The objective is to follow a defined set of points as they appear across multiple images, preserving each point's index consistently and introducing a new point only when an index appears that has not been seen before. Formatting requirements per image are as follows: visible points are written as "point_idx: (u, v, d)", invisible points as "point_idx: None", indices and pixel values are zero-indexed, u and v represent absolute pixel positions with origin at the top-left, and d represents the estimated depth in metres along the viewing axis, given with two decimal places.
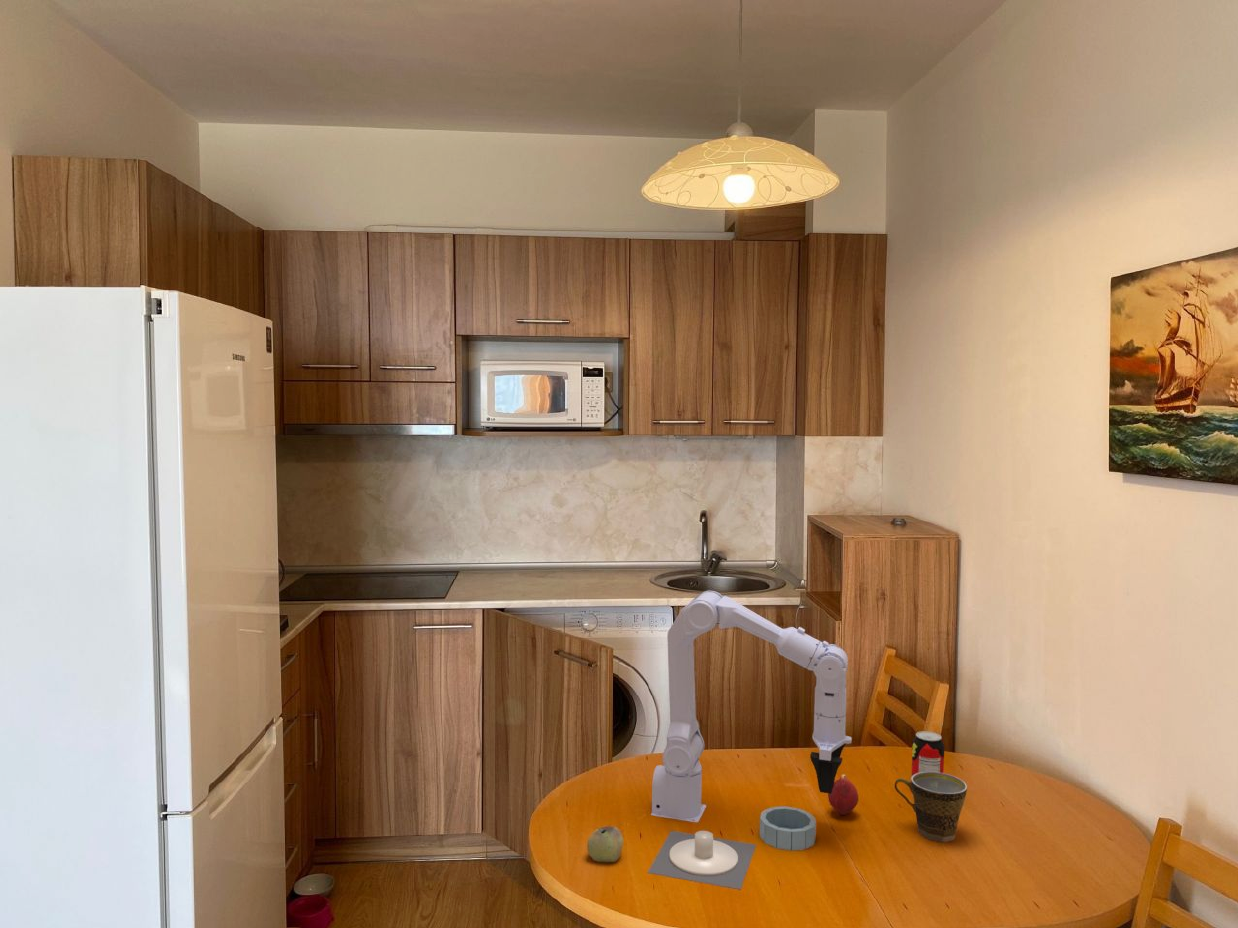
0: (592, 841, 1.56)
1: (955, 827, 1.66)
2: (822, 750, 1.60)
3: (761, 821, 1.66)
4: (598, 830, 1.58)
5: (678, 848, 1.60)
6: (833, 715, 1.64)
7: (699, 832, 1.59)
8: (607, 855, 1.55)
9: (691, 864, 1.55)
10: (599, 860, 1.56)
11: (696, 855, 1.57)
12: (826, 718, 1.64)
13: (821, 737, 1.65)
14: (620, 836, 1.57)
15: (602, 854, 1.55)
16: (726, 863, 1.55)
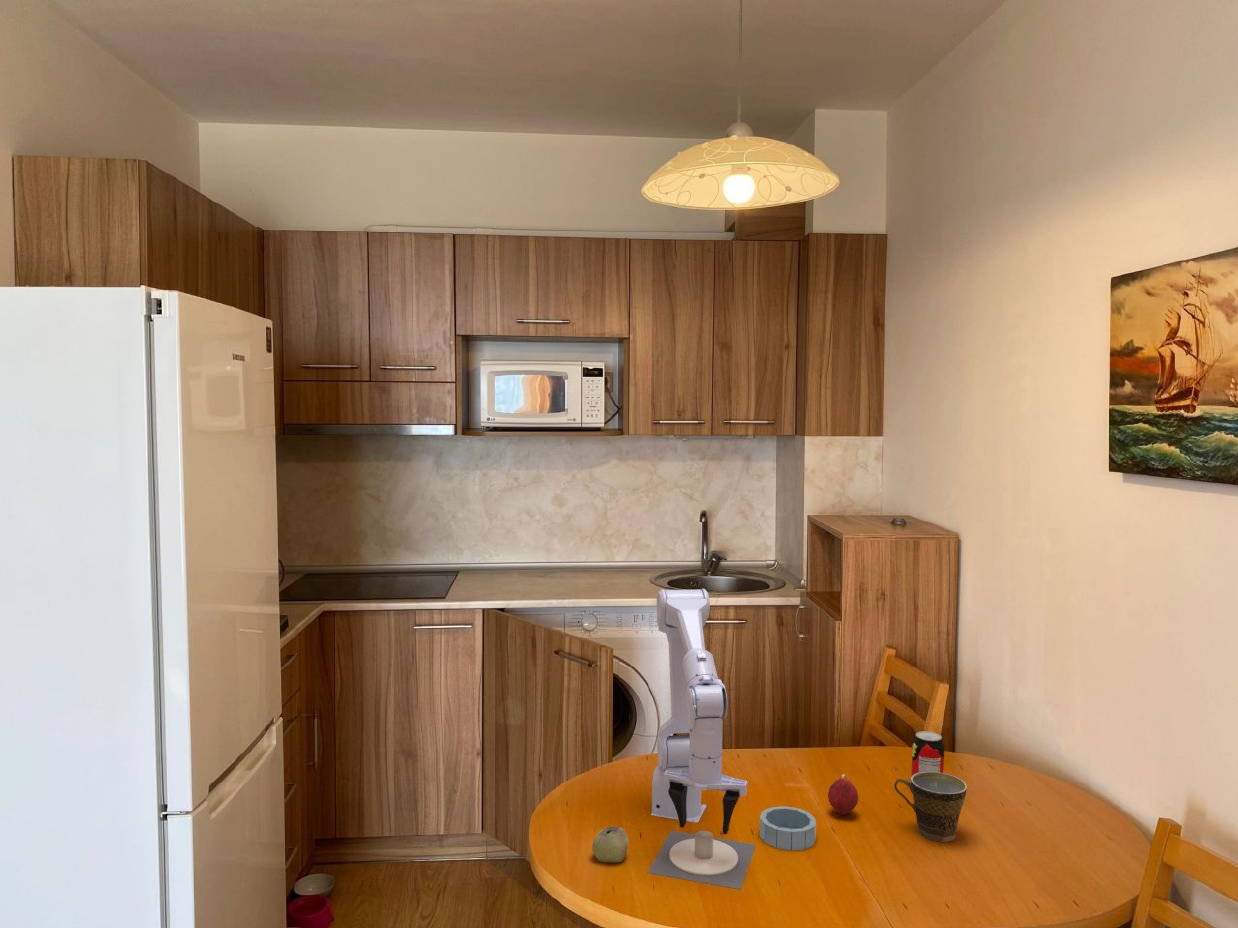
0: (597, 841, 1.56)
1: (955, 827, 1.66)
2: (665, 772, 1.60)
3: (761, 821, 1.66)
4: (603, 830, 1.58)
5: (678, 848, 1.60)
6: (691, 752, 1.56)
7: (699, 832, 1.58)
8: (612, 855, 1.55)
9: (691, 864, 1.55)
10: (604, 860, 1.56)
11: (696, 855, 1.57)
12: None
13: None
14: (625, 836, 1.57)
15: (607, 854, 1.55)
16: (726, 863, 1.55)
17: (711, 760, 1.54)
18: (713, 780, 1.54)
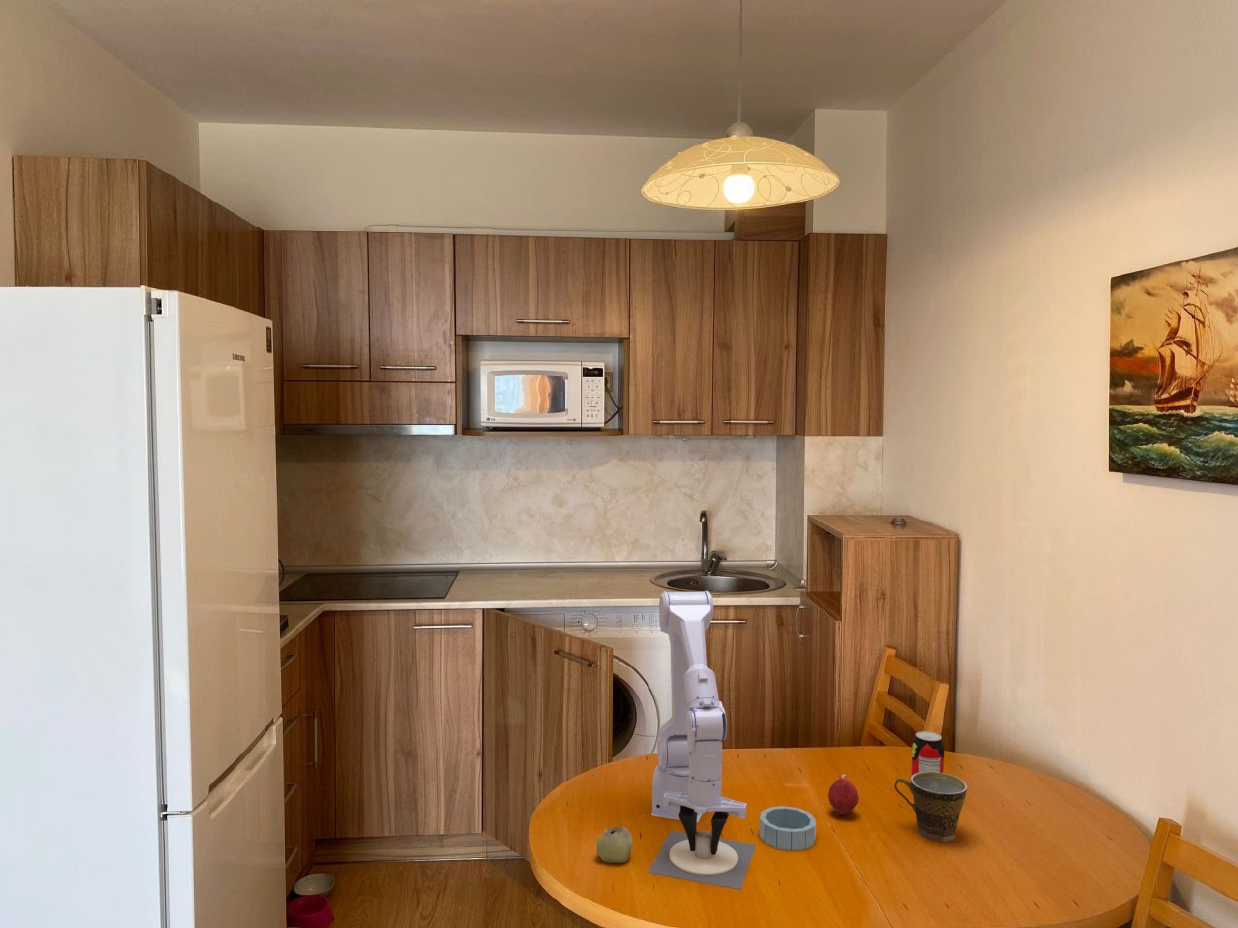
0: (601, 841, 1.56)
1: (955, 827, 1.66)
2: (665, 794, 1.60)
3: (761, 821, 1.66)
4: (607, 831, 1.58)
5: (678, 848, 1.60)
6: (691, 775, 1.56)
7: (699, 832, 1.59)
8: (617, 855, 1.55)
9: (691, 864, 1.55)
10: (608, 861, 1.56)
11: (696, 855, 1.57)
12: None
13: None
14: (629, 837, 1.57)
15: (611, 854, 1.55)
16: (726, 863, 1.55)
17: (711, 783, 1.54)
18: (713, 802, 1.55)
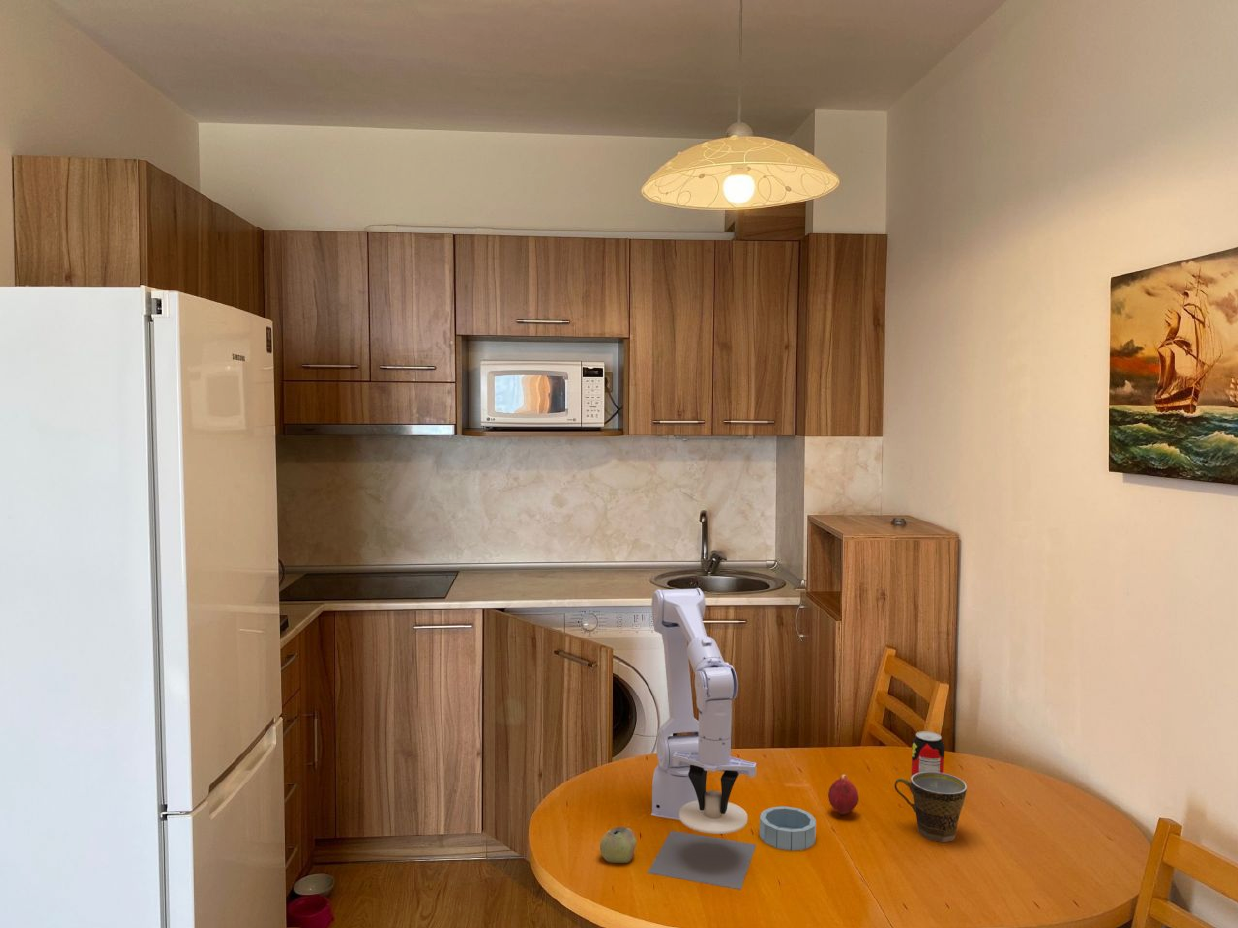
0: (605, 842, 1.56)
1: (955, 827, 1.66)
2: (675, 754, 1.61)
3: (761, 821, 1.66)
4: (611, 831, 1.58)
5: (687, 808, 1.61)
6: (701, 734, 1.56)
7: (708, 792, 1.59)
8: (620, 856, 1.55)
9: (701, 823, 1.55)
10: (612, 861, 1.56)
11: (706, 814, 1.58)
12: None
13: None
14: (633, 837, 1.57)
15: (615, 855, 1.55)
16: (736, 822, 1.56)
17: (720, 742, 1.55)
18: (722, 761, 1.55)
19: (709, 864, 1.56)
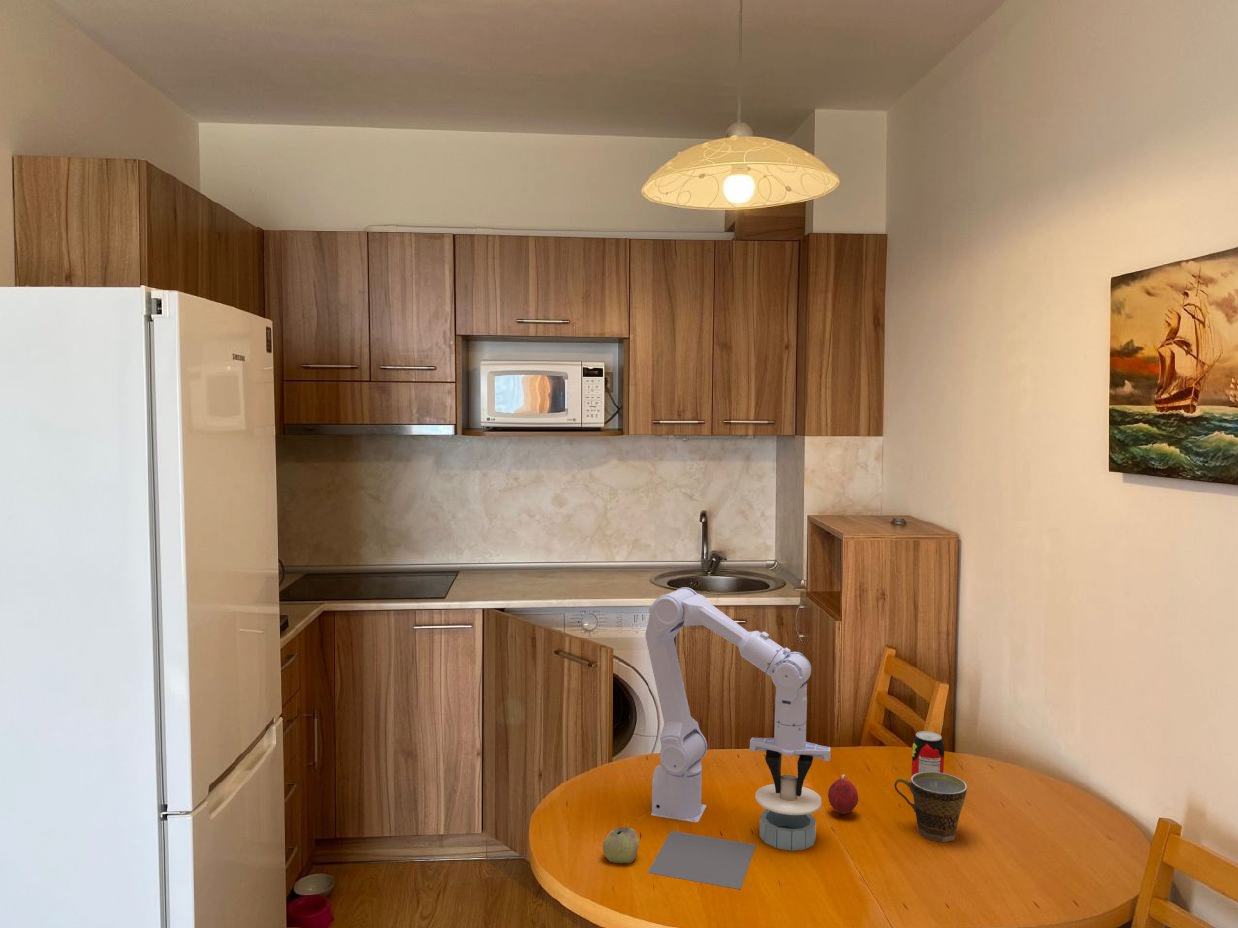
0: (608, 842, 1.56)
1: (955, 827, 1.66)
2: (751, 739, 1.68)
3: (761, 821, 1.66)
4: (614, 831, 1.58)
5: (763, 791, 1.68)
6: (790, 723, 1.62)
7: (784, 776, 1.66)
8: (623, 856, 1.55)
9: (778, 805, 1.62)
10: (615, 861, 1.56)
11: (782, 797, 1.65)
12: None
13: None
14: (636, 837, 1.57)
15: (618, 855, 1.55)
16: (811, 804, 1.63)
17: (797, 727, 1.62)
18: (799, 746, 1.63)
19: (709, 864, 1.56)
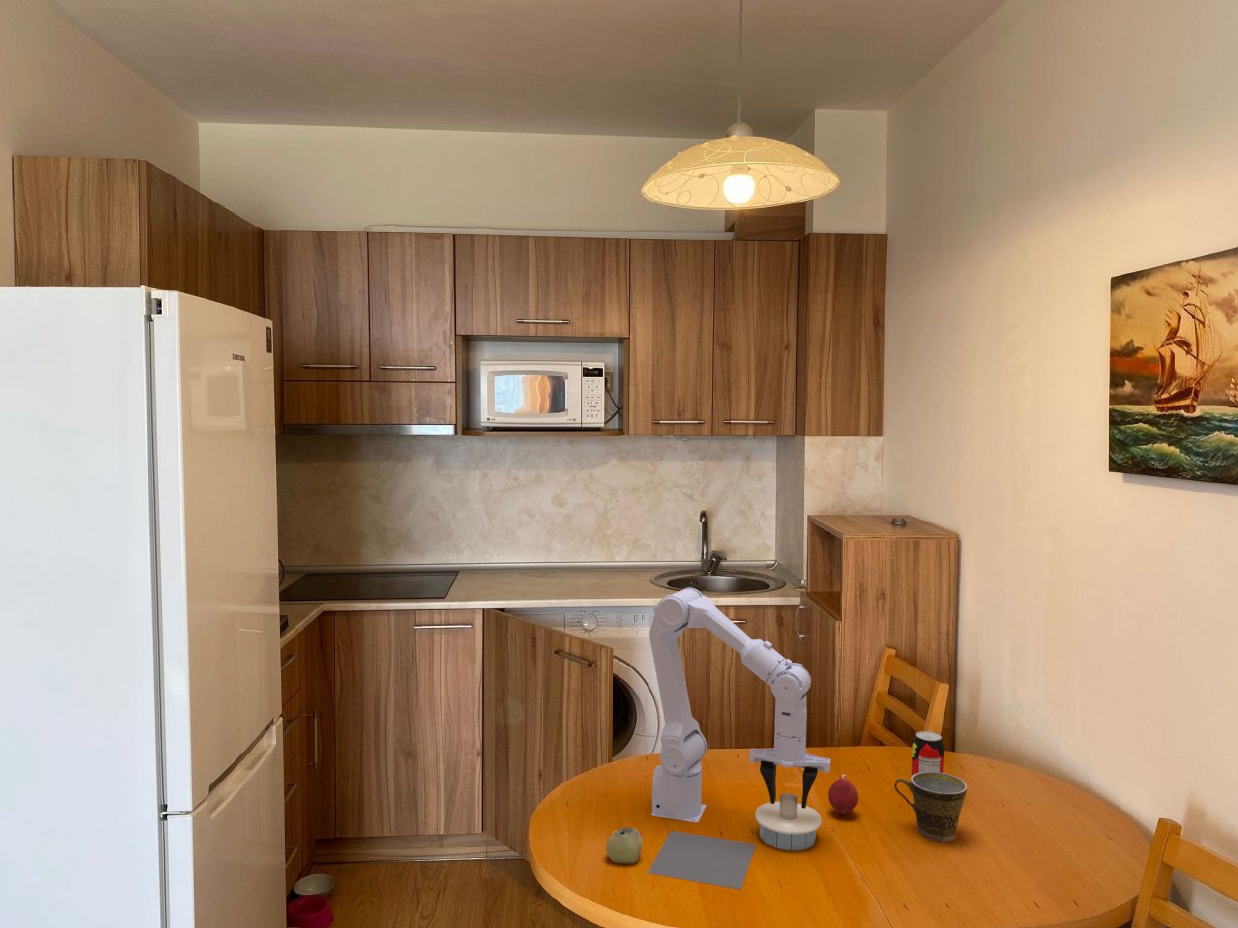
0: (611, 842, 1.56)
1: (955, 827, 1.66)
2: None
3: None
4: (617, 831, 1.58)
5: (763, 810, 1.68)
6: (790, 735, 1.62)
7: (783, 794, 1.67)
8: (627, 856, 1.55)
9: (778, 824, 1.63)
10: (619, 861, 1.56)
11: (781, 816, 1.65)
12: None
13: None
14: (639, 837, 1.57)
15: (621, 855, 1.55)
16: (811, 823, 1.63)
17: (797, 739, 1.62)
18: (798, 758, 1.63)
19: (709, 864, 1.56)
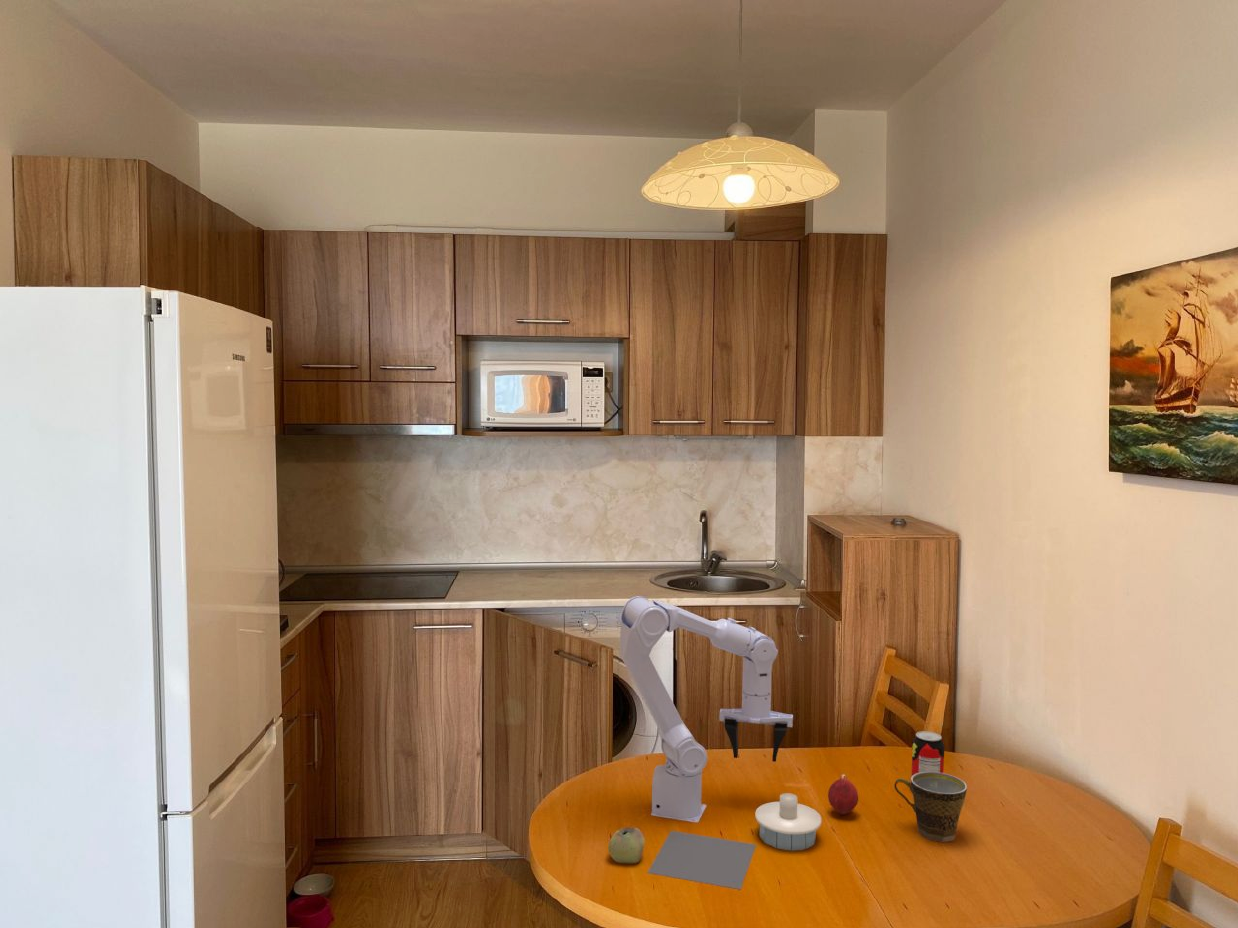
0: (613, 842, 1.56)
1: (955, 827, 1.66)
2: (720, 710, 1.82)
3: None
4: (619, 831, 1.58)
5: (763, 810, 1.68)
6: (766, 693, 1.78)
7: (783, 794, 1.67)
8: (629, 856, 1.55)
9: (778, 824, 1.63)
10: (621, 861, 1.56)
11: (781, 816, 1.65)
12: None
13: None
14: (642, 837, 1.57)
15: (624, 855, 1.55)
16: (811, 823, 1.63)
17: (763, 697, 1.77)
18: (765, 714, 1.78)
19: (709, 864, 1.56)
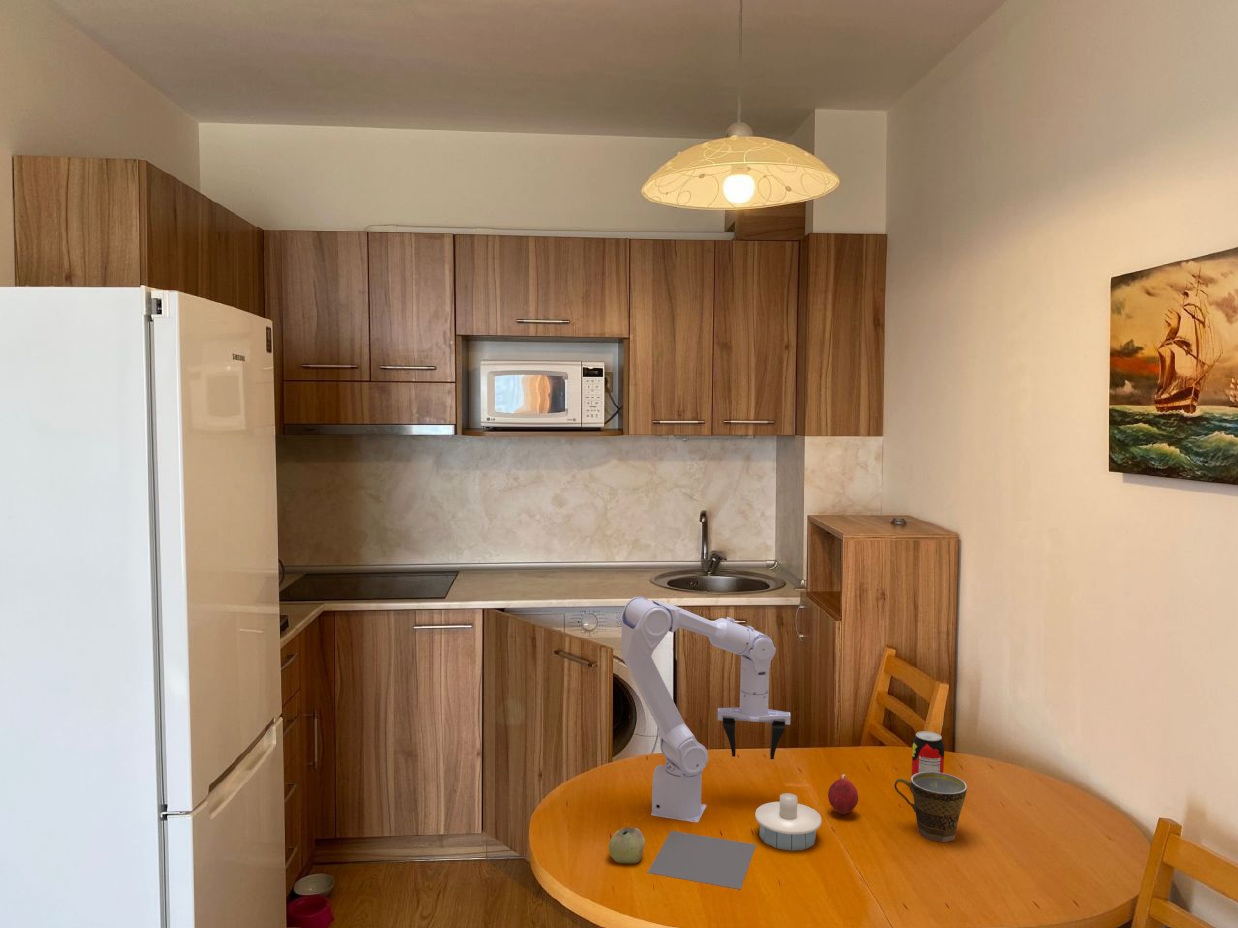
0: (614, 842, 1.56)
1: (955, 827, 1.66)
2: None
3: None
4: (619, 831, 1.58)
5: (763, 810, 1.68)
6: (765, 691, 1.79)
7: (783, 794, 1.67)
8: (630, 856, 1.55)
9: (778, 824, 1.63)
10: (621, 861, 1.56)
11: (781, 816, 1.65)
12: None
13: None
14: (642, 837, 1.57)
15: (624, 855, 1.55)
16: (811, 823, 1.63)
17: (762, 695, 1.78)
18: (763, 712, 1.79)
19: (709, 864, 1.56)
